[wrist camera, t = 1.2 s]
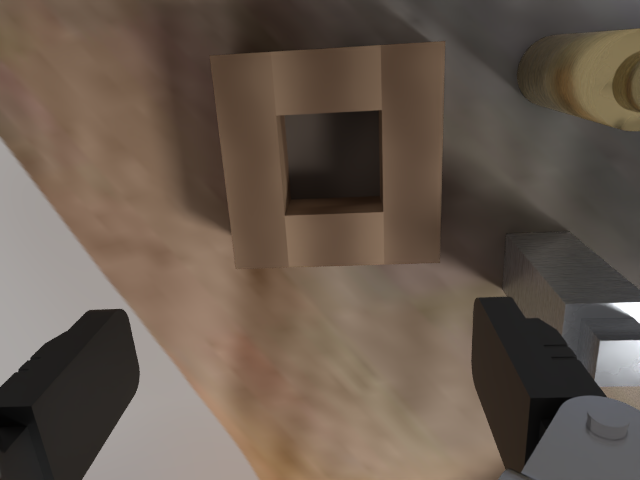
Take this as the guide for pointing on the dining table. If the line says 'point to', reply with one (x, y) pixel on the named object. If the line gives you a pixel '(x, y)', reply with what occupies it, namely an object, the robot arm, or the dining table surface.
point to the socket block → (332, 154)
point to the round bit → (586, 76)
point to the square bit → (577, 301)
